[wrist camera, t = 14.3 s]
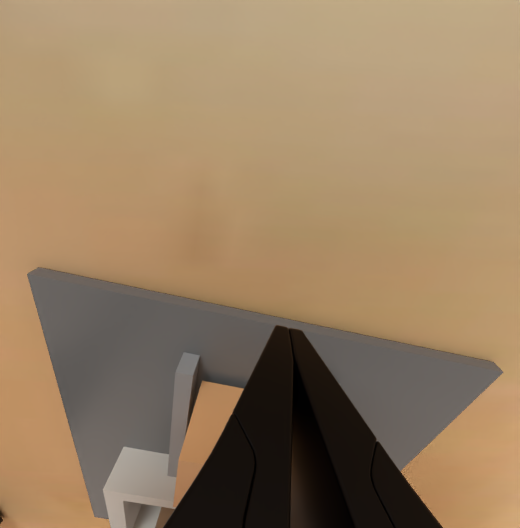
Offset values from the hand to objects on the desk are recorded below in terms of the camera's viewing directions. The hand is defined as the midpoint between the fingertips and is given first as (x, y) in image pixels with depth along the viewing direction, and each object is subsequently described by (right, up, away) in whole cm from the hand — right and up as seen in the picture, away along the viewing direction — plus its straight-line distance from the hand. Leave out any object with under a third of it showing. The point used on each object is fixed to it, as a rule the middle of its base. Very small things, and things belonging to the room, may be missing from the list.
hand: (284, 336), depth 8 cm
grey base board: (-3, -10, +8) cm, 13 cm away
